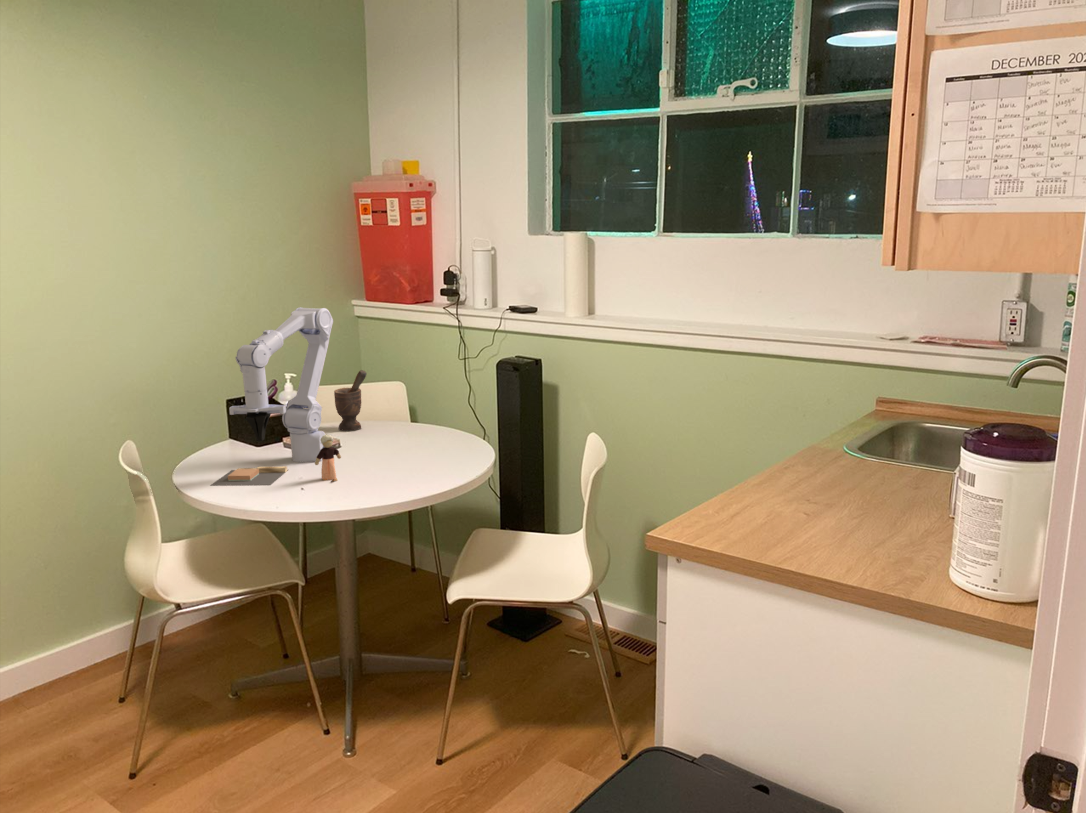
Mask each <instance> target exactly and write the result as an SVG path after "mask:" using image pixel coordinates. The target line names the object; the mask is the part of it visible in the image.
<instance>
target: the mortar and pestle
mask: <svg viewBox="0 0 1086 813" xmlns="http://www.w3.org/2000/svg"><path fill="white" fill-rule="evenodd" d="M366 378H367V372H366V371H365V370H362V369H361V370H359V371H358V372H357V374H356V376H355V379H354V382H353V384H352V386H351V387H341V388H337V389H335V390H334V391H333V392H334V393H333V394H334V395H333V396H334V405H335V409H336V413H337V414H338V416H340V417H341V419H342V420H341V422H340V423H339V425H338V430H339V431H341V432H349V431H358V430H360V429H362V425H361V423H360V422H359V421H358V420H357V416H359V414H360V412H361V408H362V389H361V388H360V386H361V385H362V384H363V382H364V381H365V380H366Z"/></svg>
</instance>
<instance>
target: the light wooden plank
mask: <svg viewBox="0 0 1086 813" xmlns="http://www.w3.org/2000/svg"><path fill="white" fill-rule="evenodd" d="M237 469H259V473H272V472H286V473H287V472H288V471H289V469H288V466H287V465H285V466H283V465H282V466H258V467H243V468H242V467H238V468H236V469H235V470H237Z"/></svg>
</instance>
